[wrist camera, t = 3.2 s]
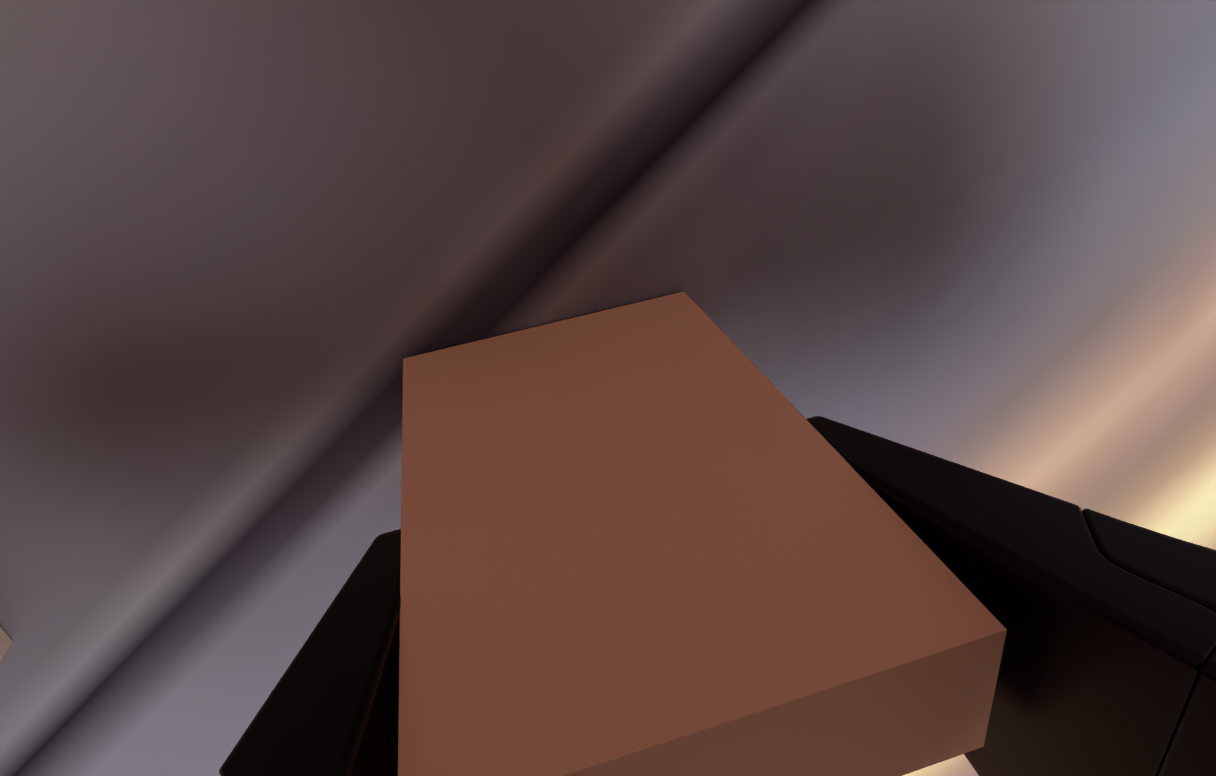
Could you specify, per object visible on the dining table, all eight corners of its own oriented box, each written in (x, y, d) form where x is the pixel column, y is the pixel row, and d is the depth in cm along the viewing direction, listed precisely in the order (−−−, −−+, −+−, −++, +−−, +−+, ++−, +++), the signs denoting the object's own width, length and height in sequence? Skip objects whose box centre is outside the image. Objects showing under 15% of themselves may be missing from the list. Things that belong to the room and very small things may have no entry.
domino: (429, 436, 13) (453, 934, 6) (403, 358, 12) (398, 831, 5) (692, 369, 13) (984, 745, 7) (684, 291, 13) (1006, 630, 6)
